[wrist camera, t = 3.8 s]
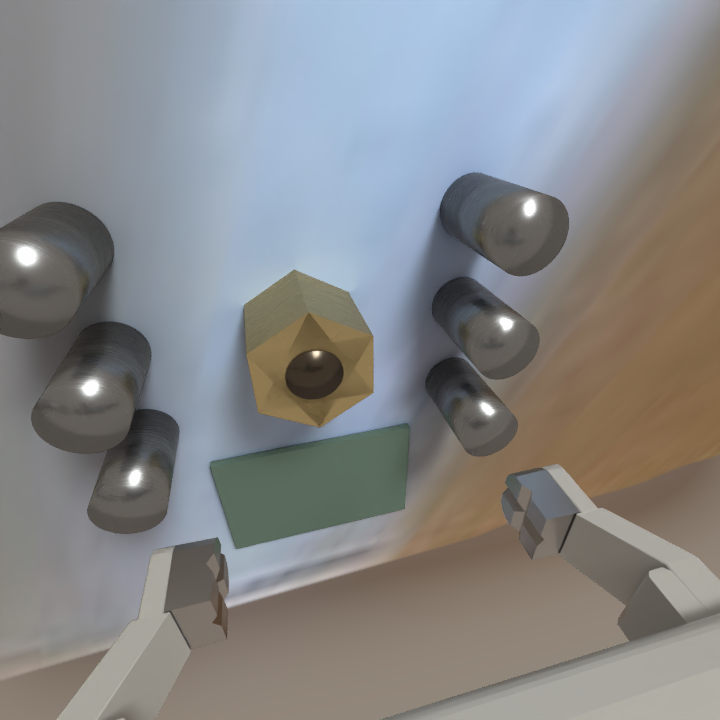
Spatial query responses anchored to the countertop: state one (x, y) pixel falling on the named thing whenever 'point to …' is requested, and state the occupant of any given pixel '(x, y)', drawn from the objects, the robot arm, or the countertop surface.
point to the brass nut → (307, 350)
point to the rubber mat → (313, 484)
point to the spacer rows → (133, 353)
